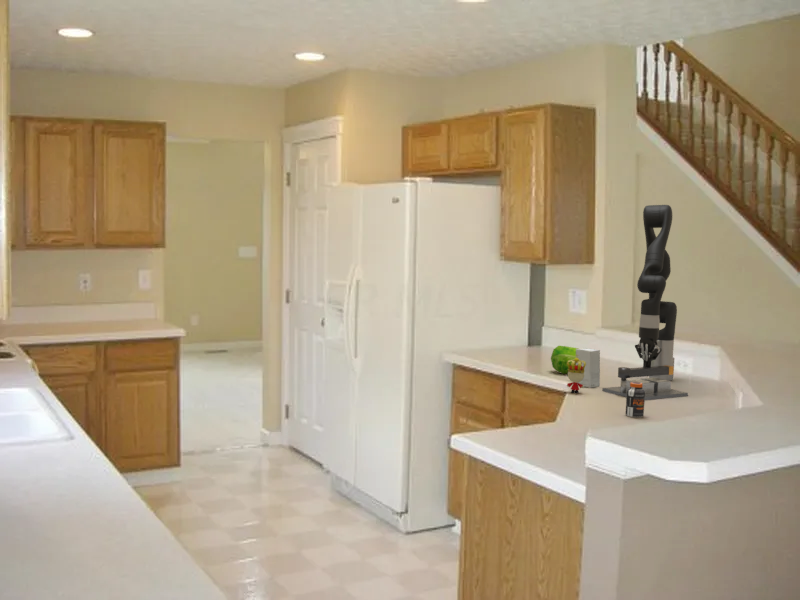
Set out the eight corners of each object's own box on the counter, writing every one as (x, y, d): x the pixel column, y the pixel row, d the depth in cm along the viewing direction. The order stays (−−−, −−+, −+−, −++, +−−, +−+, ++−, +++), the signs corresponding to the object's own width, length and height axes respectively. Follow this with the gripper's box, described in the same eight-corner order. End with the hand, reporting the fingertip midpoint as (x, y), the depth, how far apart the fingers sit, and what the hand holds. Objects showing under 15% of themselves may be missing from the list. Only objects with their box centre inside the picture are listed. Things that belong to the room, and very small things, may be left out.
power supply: (636, 388, 345) (637, 377, 345) (653, 392, 337) (654, 381, 337) (623, 389, 341) (623, 379, 341) (640, 393, 334) (641, 383, 333)
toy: (585, 392, 340) (587, 353, 339) (583, 395, 333) (585, 355, 332) (567, 390, 342) (568, 352, 341) (564, 393, 336) (566, 354, 334)
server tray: (648, 386, 356) (649, 370, 356) (687, 396, 339) (688, 378, 338) (602, 391, 344) (603, 374, 343) (640, 400, 326) (641, 382, 326)
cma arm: (665, 372, 349) (666, 363, 349) (674, 374, 345) (675, 365, 345) (615, 376, 336) (615, 367, 335) (623, 378, 332) (624, 369, 332)
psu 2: (653, 386, 350) (653, 376, 349) (670, 390, 342) (671, 380, 341) (640, 388, 346) (640, 377, 346) (657, 392, 338) (658, 381, 338)
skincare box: (599, 387, 352) (601, 350, 351) (589, 388, 349) (590, 350, 348) (584, 383, 359) (586, 347, 358) (573, 384, 356) (575, 348, 355)
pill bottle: (632, 418, 295) (634, 384, 294) (621, 414, 300) (623, 381, 299) (647, 417, 297) (649, 383, 296) (636, 413, 303) (637, 380, 302)
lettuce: (598, 377, 375) (599, 349, 374) (550, 375, 378) (551, 347, 377) (596, 372, 388) (597, 345, 387) (549, 370, 391) (550, 343, 390)
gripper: (668, 328, 342) (666, 372, 343) (644, 324, 353) (642, 367, 355) (653, 328, 338) (651, 373, 340) (630, 324, 350) (627, 368, 351)
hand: (646, 370), depth 347 cm, fingers closed
